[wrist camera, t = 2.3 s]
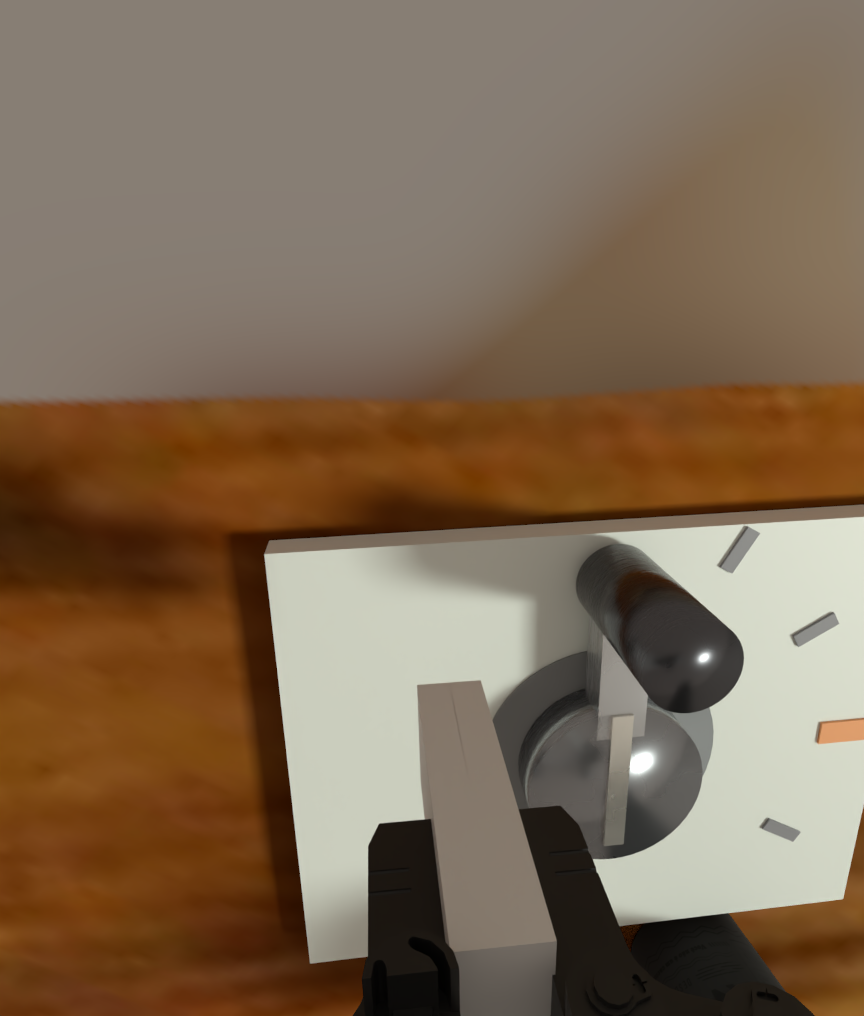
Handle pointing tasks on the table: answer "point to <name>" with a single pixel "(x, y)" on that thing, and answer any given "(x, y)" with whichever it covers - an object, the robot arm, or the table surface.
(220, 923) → the table surface
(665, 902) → the board
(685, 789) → the crank
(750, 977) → the drinking cup
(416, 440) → the table surface
